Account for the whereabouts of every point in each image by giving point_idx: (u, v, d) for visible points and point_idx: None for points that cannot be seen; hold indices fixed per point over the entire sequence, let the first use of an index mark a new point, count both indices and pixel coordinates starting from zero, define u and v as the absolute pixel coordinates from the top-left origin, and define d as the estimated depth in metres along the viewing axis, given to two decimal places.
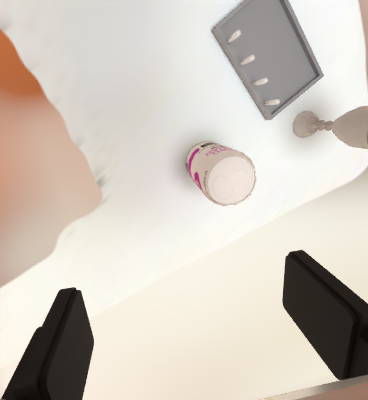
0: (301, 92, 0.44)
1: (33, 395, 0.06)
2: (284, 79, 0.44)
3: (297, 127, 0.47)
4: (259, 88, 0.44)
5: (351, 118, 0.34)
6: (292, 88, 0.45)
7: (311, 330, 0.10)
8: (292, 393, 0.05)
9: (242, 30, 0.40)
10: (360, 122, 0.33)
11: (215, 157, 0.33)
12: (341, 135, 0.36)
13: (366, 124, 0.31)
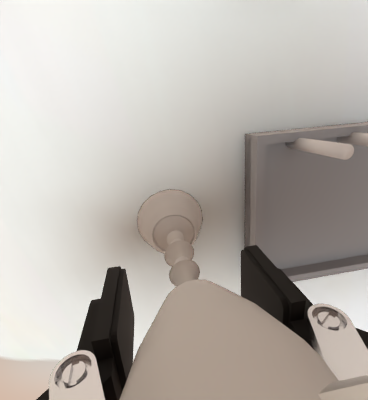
0: (259, 234, 0.18)
1: (107, 347, 0.07)
2: (297, 210, 0.19)
3: (179, 199, 0.17)
4: None
5: None
6: (270, 220, 0.19)
7: None
8: None
9: None
10: None
11: None
12: (248, 323, 0.06)
13: None
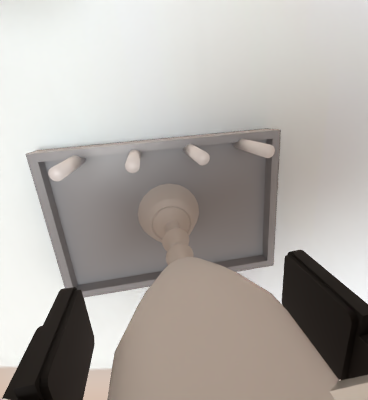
0: (57, 248, 0.18)
1: (34, 394, 0.06)
2: (106, 223, 0.19)
3: (177, 192, 0.19)
4: (118, 164, 0.18)
5: (311, 345, 0.06)
6: (78, 233, 0.19)
7: (310, 330, 0.10)
8: None
9: (236, 181, 0.20)
10: None
11: None
12: (226, 278, 0.07)
13: None
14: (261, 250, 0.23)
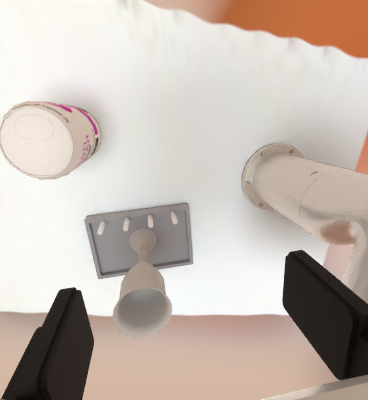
0: (94, 256, 0.44)
1: (33, 395, 0.06)
2: (114, 245, 0.45)
3: (145, 232, 0.44)
4: (120, 221, 0.43)
5: (161, 280, 0.32)
6: (102, 250, 0.45)
7: (311, 330, 0.10)
8: (292, 393, 0.05)
9: (172, 226, 0.45)
10: (160, 286, 0.30)
11: (79, 141, 0.26)
12: (145, 266, 0.32)
13: (161, 291, 0.29)
14: (188, 256, 0.48)
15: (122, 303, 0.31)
